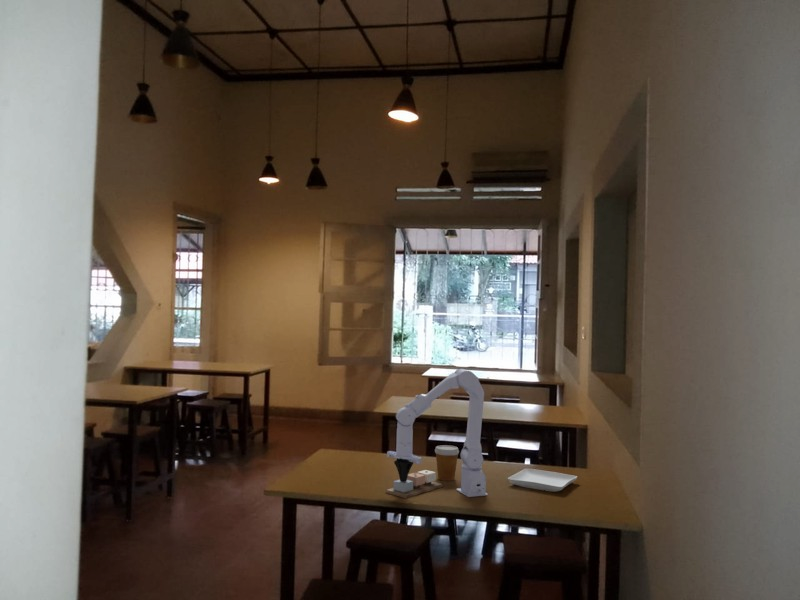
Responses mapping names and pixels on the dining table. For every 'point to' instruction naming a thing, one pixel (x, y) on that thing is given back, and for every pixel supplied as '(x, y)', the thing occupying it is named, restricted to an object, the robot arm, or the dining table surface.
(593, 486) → the dining table surface
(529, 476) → the salad plate
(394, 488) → the key three
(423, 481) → the key two
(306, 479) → the dining table surface
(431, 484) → the board
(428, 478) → the key one
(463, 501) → the dining table surface
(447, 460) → the disposable coffee cup
